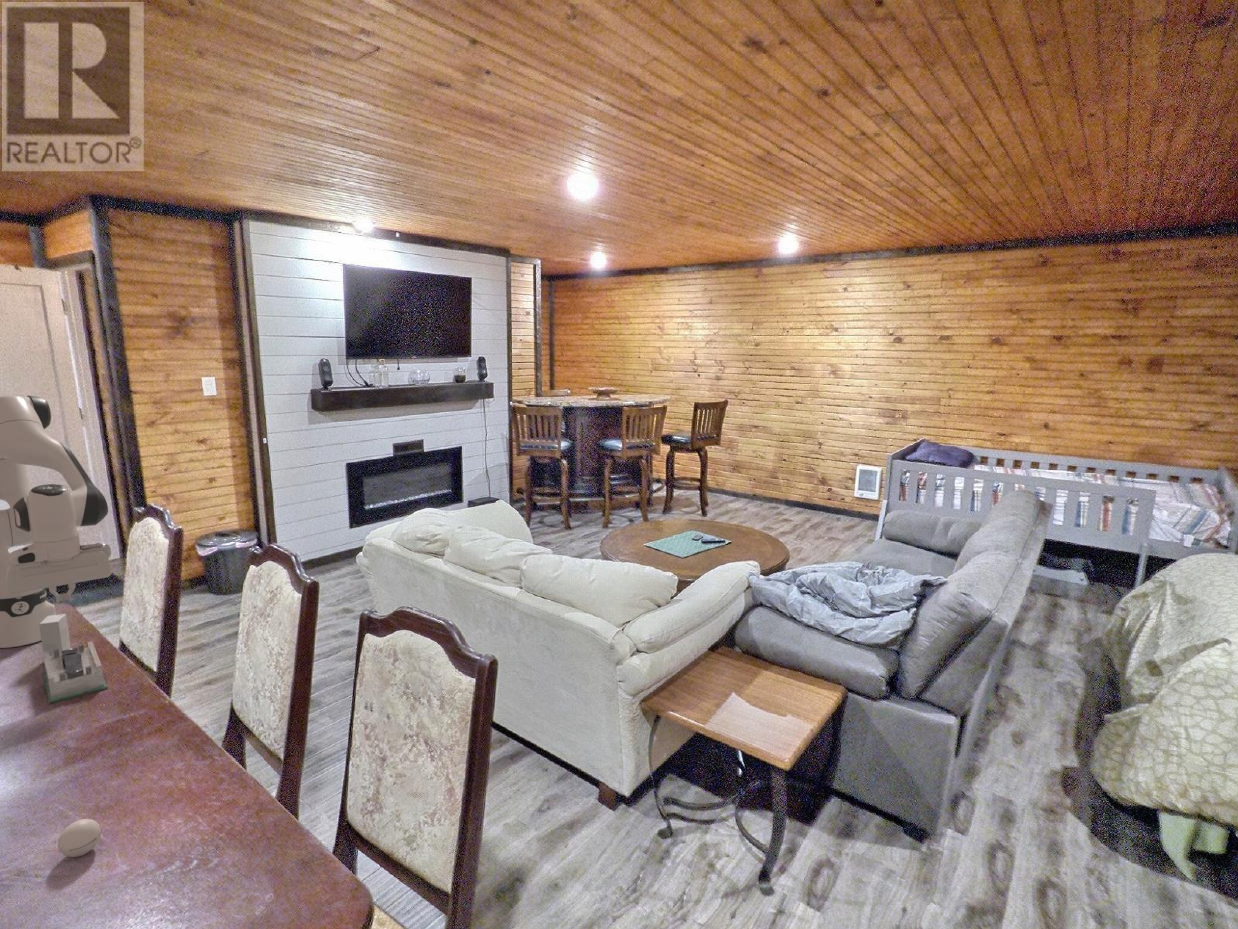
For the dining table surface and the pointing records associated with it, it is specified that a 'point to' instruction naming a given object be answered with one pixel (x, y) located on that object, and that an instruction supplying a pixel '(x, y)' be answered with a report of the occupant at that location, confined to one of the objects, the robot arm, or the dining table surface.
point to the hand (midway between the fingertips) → (64, 601)
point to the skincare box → (55, 634)
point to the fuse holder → (75, 686)
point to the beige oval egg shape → (79, 838)
